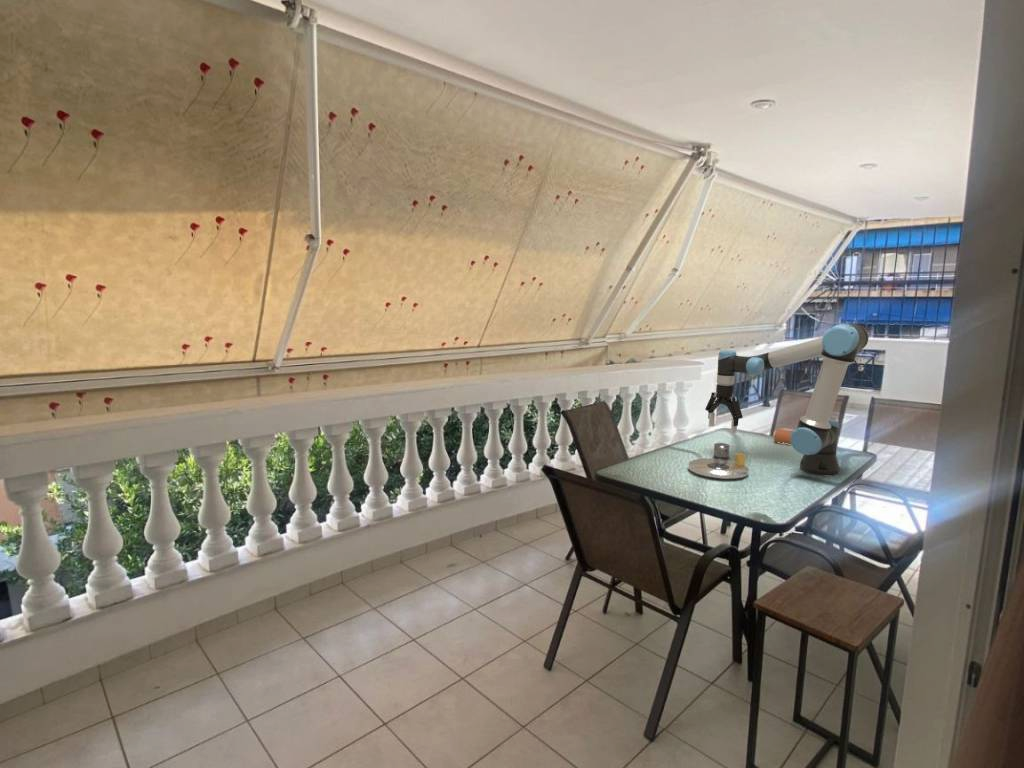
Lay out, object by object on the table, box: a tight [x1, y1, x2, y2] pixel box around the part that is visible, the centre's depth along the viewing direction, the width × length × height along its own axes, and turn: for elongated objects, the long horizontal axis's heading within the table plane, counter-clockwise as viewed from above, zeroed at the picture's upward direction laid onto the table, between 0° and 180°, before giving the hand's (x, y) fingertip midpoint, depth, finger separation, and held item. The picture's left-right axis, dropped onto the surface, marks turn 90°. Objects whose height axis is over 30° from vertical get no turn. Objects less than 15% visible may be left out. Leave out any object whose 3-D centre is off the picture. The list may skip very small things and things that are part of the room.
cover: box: [712, 442, 731, 461], centre depth 256 cm, size 8×8×7 cm
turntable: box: [688, 452, 749, 480], centre depth 235 cm, size 24×24×6 cm
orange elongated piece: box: [773, 428, 794, 444], centre depth 285 cm, size 20×8×8 cm, turn 139°
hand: (722, 429), depth 255 cm, fingers open, 13 cm apart
